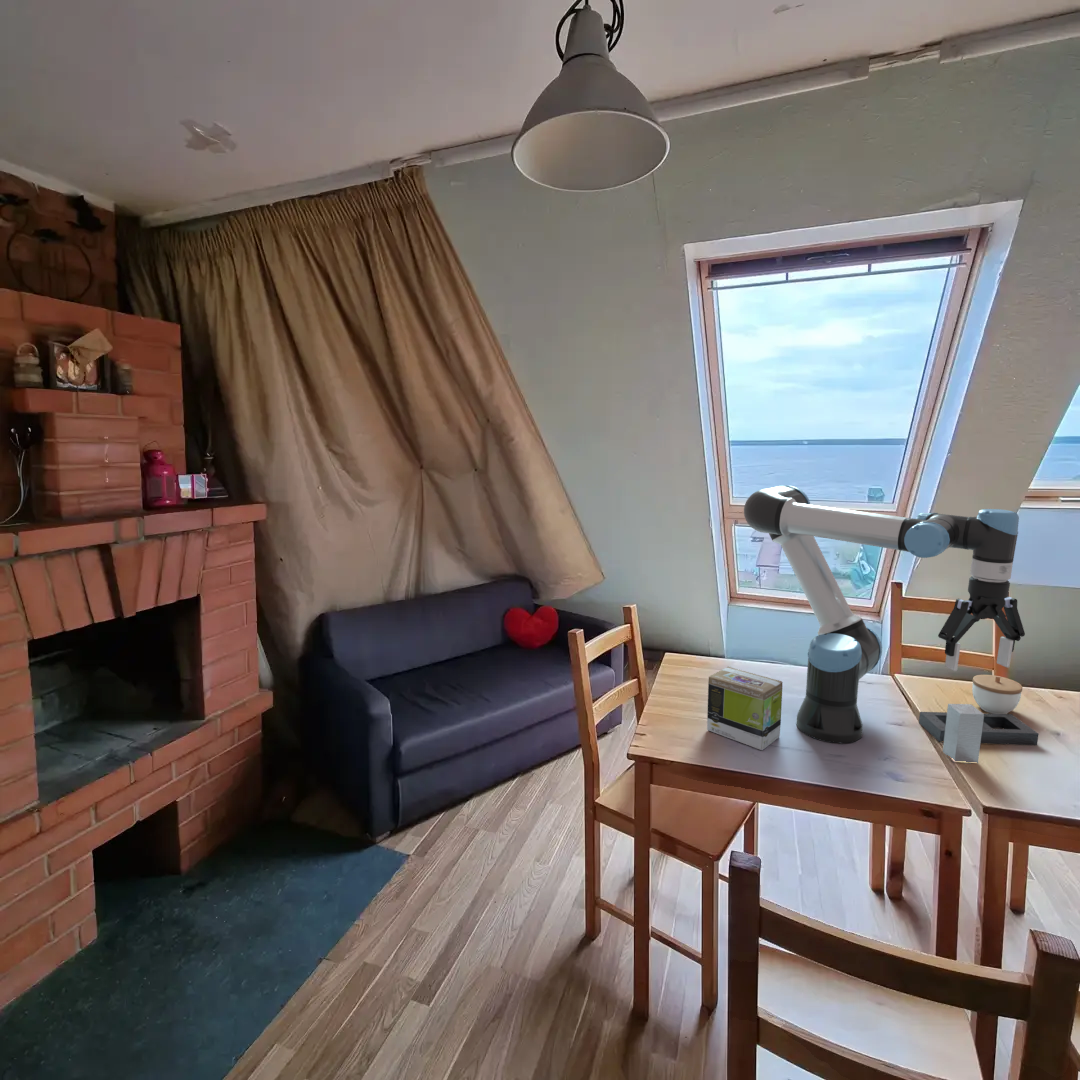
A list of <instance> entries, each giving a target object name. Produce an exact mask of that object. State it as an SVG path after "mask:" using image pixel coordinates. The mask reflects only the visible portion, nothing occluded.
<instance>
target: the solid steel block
mask: <svg viewBox="0 0 1080 1080" xmlns="http://www.w3.org/2000/svg"><path fill="white" fill-rule="evenodd" d="M946 712H947V718H946V727H945V736H944V742H943V746H942V753H943V754H945V756H947V755H948V756H950V757H951V758H953V759H954V760H955V761H966V762H977V763H978V764H979V757H980V751H981V750H980V749H981V744H982V743H981V735H982V727H983V719H984V714H985V713H984V714H983V712H982V711H980V710H979V709H978V708H977V707H975V706H974V705H973V704H969V703H947V710H946ZM948 756H947V757H948Z"/></svg>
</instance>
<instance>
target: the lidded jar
mask: <svg viewBox="0 0 1080 1080" xmlns="http://www.w3.org/2000/svg"><path fill="white" fill-rule="evenodd" d="M972 677H973V678H972V690H971V691H972V696H973V699H974V701H975V703H977V705H978V706H979V707H980V709H981V710H982V711H984V712H986V713H988V714H1009V713H1010V712H1012V711H1013V710H1015V709H1016V708H1017V706H1018V705H1019V703H1020V701H1021V696H1022V692H1023V686H1022V684H1020V683H1019V682H1018V681H1016V680H1013V679H1011V678H1008V677H1005V676H1004V677H1003V676H999V675H993V674H977V675H975V676H972Z"/></svg>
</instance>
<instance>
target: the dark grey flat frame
mask: <svg viewBox="0 0 1080 1080" xmlns="http://www.w3.org/2000/svg"><path fill="white" fill-rule="evenodd" d="M982 713H983V712H982ZM983 714H984V719H983V727H982V735H981V743H980V744H984V743H987V744H988V745H990V744H991V745H1017V746H1018V745H1019V746H1038V742H1039V741H1038V740H1039V735H1040V734H1039V733H1038V732H1037V731H1036V730H1034V729H1033V728H1032V727H1030V726H1029V725H1027V724H1026V723H1024V722H1023V721H1022V720H1020V719H1019V718H1017V717H1016V716H1015V715H1013V714H1011V713H1010V714H1009V713H1007V714H993V713H983ZM946 718H947V711H946V712H942V711H940V712H938V711H920V712H919V718H918V724H920V725H921V726H922V727H923V728H924V729H925V730H926V731H927V732H928V733H929V734H930V735H931V736H932V737H933V738H934V739H936V741H938V743H941V742H940V741H944V736H945V727H946Z"/></svg>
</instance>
